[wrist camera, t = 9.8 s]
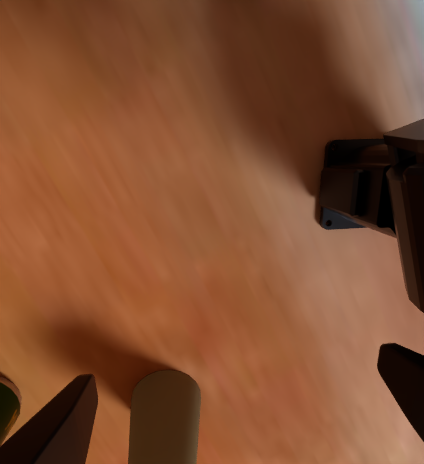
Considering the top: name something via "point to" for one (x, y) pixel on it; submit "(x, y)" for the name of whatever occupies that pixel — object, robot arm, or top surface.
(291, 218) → the top surface
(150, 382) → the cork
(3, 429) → the beer can
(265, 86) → the top surface
